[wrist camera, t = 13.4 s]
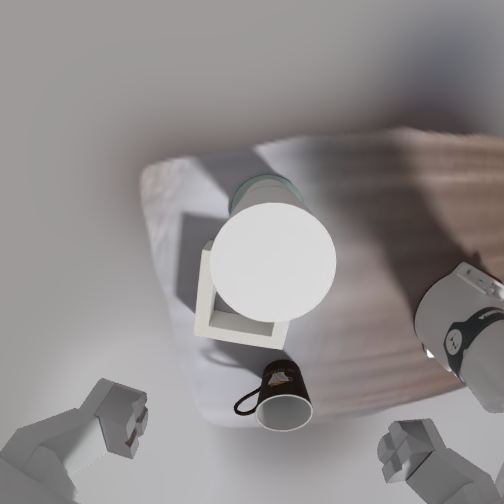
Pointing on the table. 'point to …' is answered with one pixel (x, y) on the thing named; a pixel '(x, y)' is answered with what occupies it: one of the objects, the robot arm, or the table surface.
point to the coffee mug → (281, 398)
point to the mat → (252, 181)
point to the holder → (231, 316)
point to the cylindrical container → (272, 256)
